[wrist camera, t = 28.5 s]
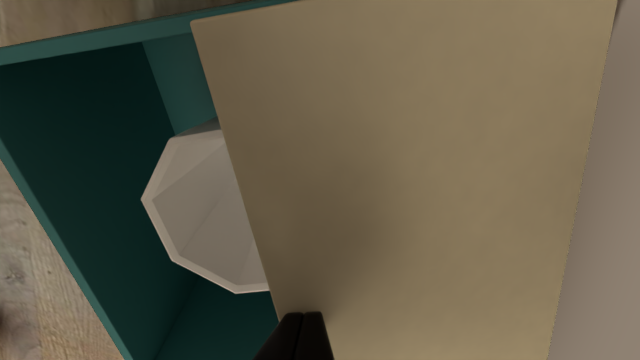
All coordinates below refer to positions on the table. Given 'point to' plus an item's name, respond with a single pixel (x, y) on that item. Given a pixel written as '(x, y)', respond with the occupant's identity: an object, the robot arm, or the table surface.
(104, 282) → the open box
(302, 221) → the flap
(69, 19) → the table surface
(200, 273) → the cup
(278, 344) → the robot arm
